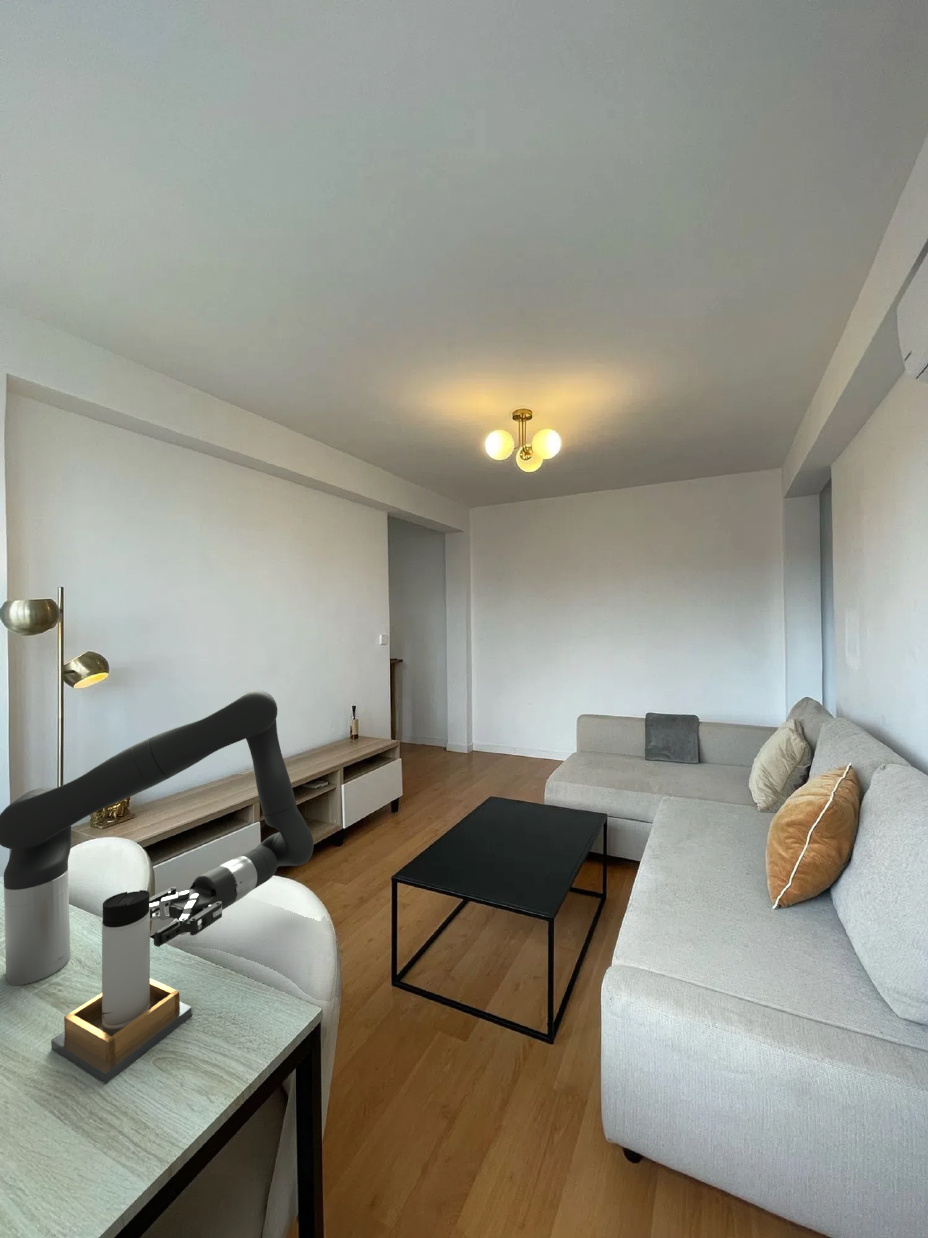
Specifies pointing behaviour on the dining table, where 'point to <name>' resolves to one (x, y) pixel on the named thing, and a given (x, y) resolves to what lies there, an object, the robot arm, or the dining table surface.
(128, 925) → the travel mug
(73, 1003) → the dining table surface
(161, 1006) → the wooden tray
